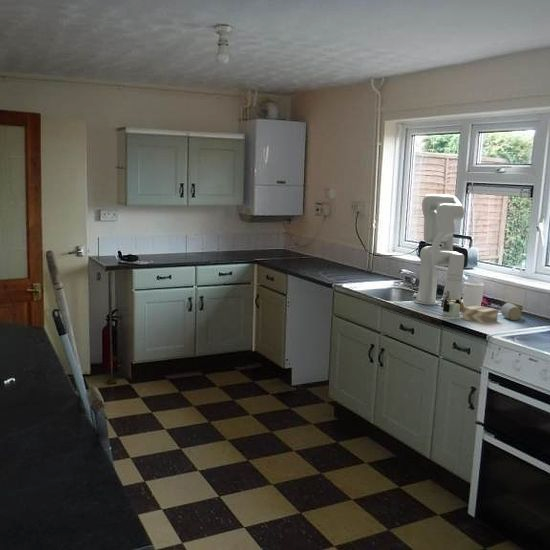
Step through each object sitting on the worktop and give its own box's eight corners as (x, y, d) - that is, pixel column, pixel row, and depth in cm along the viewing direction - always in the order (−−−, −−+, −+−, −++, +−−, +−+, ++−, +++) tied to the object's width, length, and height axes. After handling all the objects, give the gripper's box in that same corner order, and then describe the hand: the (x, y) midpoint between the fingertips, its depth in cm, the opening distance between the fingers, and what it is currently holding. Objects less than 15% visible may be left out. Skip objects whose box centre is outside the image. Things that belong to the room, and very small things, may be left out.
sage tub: (442, 314, 319) (443, 302, 318) (449, 313, 323) (450, 302, 322) (452, 316, 314) (453, 305, 314) (459, 315, 318) (460, 304, 317)
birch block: (462, 319, 312) (463, 307, 311) (475, 316, 319) (477, 305, 318) (483, 324, 302) (484, 312, 302) (497, 321, 310) (498, 309, 309)
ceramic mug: (508, 320, 312) (510, 305, 311) (499, 317, 320) (501, 302, 319) (527, 321, 314) (529, 306, 313) (518, 317, 322) (520, 303, 321)
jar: (480, 313, 326) (484, 285, 323) (460, 311, 329) (463, 283, 327) (481, 310, 336) (484, 282, 333) (461, 307, 339) (464, 280, 337)
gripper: (458, 275, 324) (454, 308, 326) (438, 277, 313) (435, 311, 315) (470, 277, 318) (467, 310, 321) (451, 279, 307) (448, 313, 309)
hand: (451, 310), depth 318 cm, fingers open, 9 cm apart
